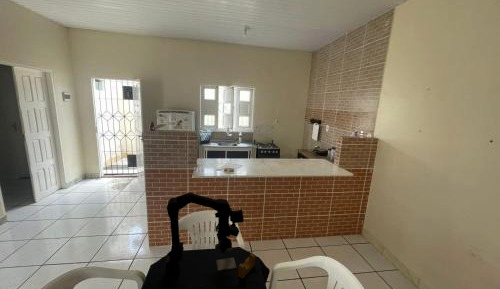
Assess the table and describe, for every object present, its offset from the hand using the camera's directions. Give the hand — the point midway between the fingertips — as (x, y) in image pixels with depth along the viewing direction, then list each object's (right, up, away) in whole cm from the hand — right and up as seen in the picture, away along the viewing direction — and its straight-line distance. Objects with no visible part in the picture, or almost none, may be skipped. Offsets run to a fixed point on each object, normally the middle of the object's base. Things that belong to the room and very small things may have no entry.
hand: (222, 250), depth 117 cm
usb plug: (+1, -1, 0) cm, 2 cm away
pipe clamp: (+12, -10, -1) cm, 16 cm away
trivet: (+2, -9, +2) cm, 9 cm away
